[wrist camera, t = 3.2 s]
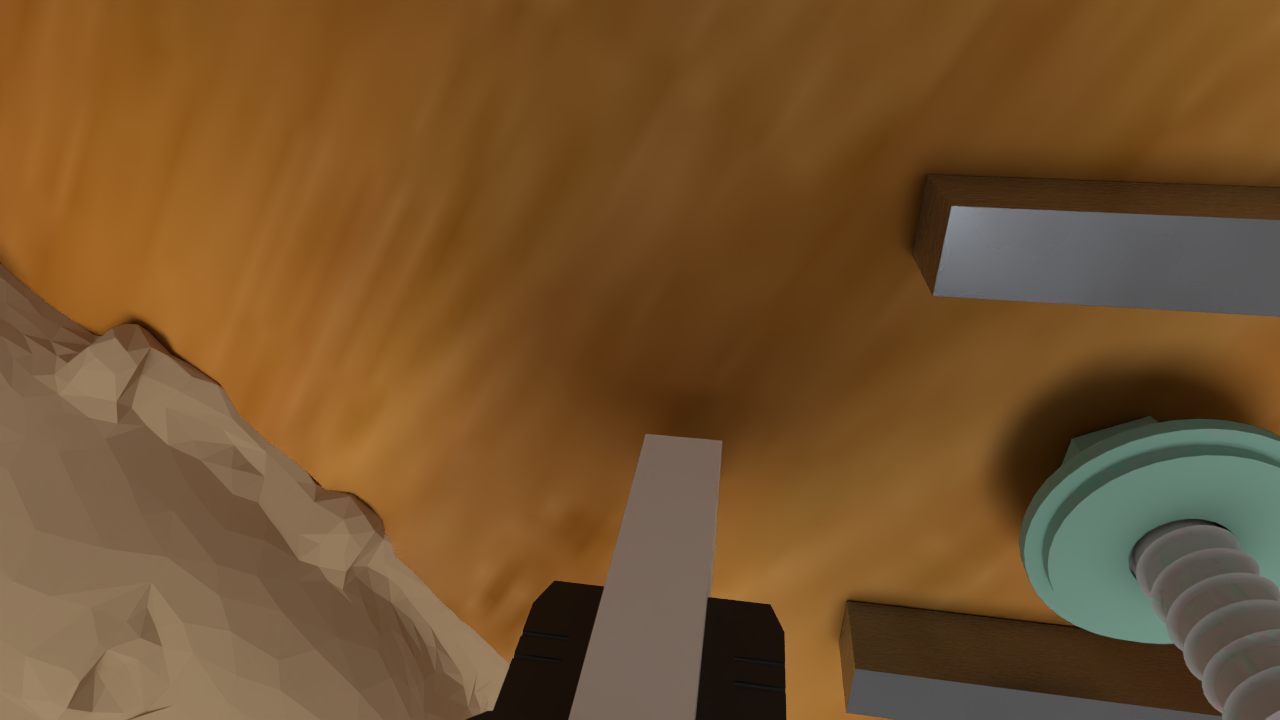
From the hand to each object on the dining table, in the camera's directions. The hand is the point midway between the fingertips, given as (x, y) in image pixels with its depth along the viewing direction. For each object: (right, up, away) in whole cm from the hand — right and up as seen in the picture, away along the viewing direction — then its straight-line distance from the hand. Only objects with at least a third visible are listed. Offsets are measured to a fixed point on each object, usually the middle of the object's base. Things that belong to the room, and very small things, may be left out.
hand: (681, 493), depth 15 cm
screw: (+9, 0, +1) cm, 9 cm away
